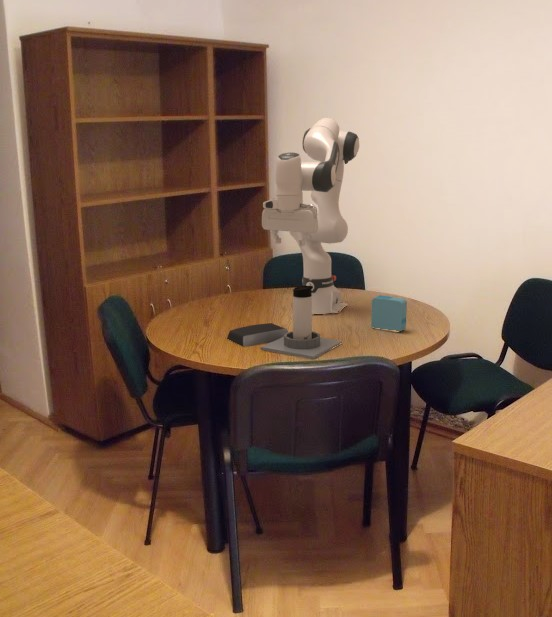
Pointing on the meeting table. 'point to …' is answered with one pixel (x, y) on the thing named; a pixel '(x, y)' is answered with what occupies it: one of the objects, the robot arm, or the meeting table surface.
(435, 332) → the meeting table surface
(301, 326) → the travel mug
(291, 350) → the mug holder
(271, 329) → the external hard drive
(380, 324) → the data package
